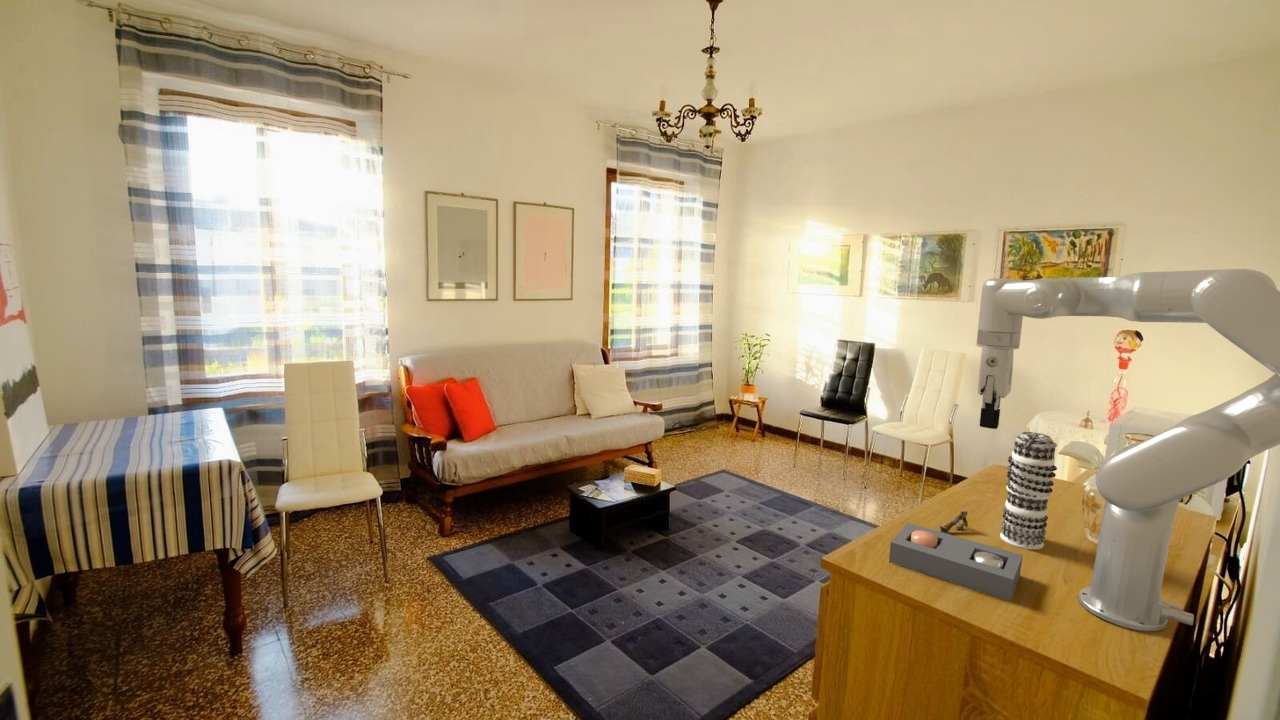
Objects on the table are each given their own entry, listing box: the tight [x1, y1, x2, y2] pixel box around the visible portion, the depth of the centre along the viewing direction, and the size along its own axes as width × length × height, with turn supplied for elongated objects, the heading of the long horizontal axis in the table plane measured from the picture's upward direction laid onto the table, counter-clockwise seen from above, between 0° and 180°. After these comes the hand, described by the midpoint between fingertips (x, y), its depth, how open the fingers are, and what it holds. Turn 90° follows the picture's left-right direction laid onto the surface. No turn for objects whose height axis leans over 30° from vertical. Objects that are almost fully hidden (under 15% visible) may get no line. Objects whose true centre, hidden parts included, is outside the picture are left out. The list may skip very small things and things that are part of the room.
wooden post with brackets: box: [939, 510, 969, 535], centre depth 139 cm, size 2×8×4 cm, turn 114°
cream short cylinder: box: [974, 552, 1003, 569], centre depth 118 cm, size 5×5×4 cm
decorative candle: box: [999, 431, 1058, 551], centre depth 132 cm, size 9×9×25 cm
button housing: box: [888, 522, 1024, 602], centre depth 121 cm, size 22×12×4 cm, turn 50°
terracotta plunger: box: [911, 530, 938, 549], centre depth 125 cm, size 5×5×4 cm
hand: (988, 427), depth 123 cm, fingers closed
